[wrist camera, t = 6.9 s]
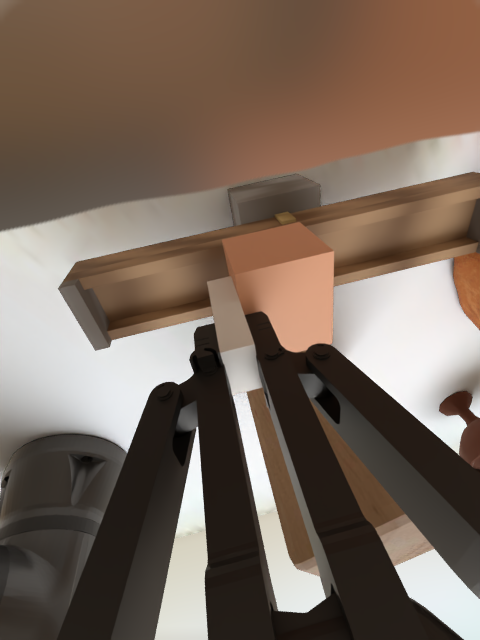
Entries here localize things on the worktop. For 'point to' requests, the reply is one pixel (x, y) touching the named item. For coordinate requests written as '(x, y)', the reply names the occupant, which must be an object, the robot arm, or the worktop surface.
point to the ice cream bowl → (476, 438)
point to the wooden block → (369, 493)
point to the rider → (285, 282)
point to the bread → (468, 284)
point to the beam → (265, 213)
